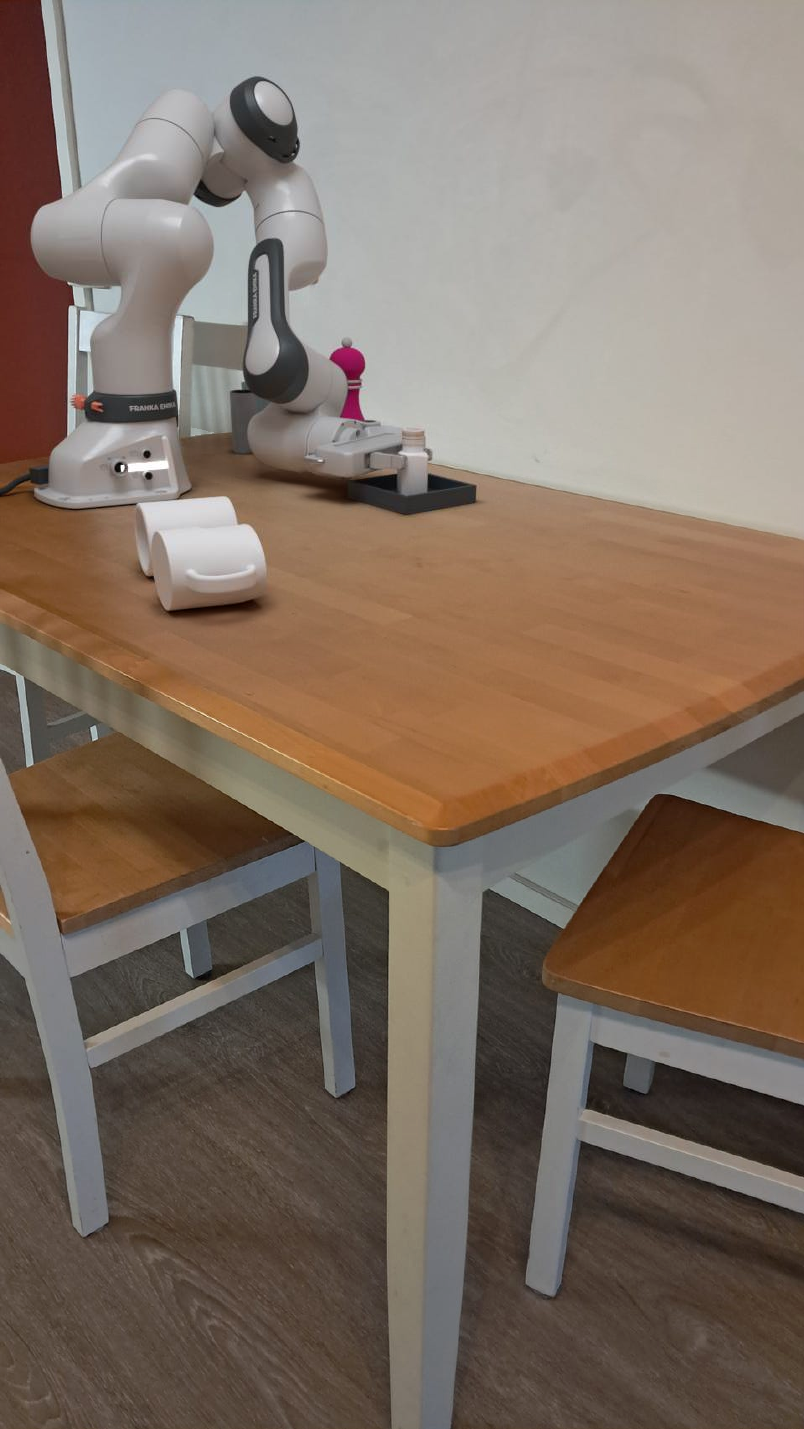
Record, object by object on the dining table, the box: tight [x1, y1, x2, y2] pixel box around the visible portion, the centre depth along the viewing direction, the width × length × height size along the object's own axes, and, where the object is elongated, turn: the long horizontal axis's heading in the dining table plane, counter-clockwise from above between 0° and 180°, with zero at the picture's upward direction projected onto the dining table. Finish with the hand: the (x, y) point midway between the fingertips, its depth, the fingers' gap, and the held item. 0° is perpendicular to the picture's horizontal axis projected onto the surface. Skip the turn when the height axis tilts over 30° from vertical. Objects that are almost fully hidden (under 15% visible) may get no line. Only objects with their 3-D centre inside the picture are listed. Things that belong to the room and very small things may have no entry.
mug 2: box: [151, 523, 268, 612], centre depth 107 cm, size 12×9×8 cm
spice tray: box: [347, 472, 478, 516], centre depth 154 cm, size 13×13×2 cm
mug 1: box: [133, 495, 239, 577], centre depth 120 cm, size 12×10×8 cm
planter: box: [229, 389, 257, 455], centre depth 186 cm, size 4×4×10 cm
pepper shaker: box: [396, 427, 429, 496], centre depth 153 cm, size 4×4×10 cm
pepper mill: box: [328, 336, 366, 420], centre depth 177 cm, size 7×7×20 cm
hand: (417, 458), depth 152 cm, fingers closed on pepper shaker, 5 cm apart
